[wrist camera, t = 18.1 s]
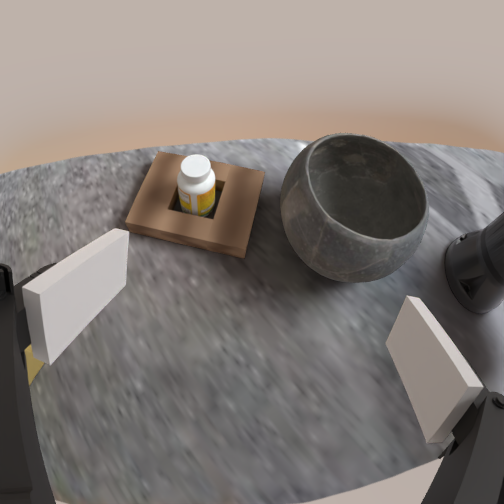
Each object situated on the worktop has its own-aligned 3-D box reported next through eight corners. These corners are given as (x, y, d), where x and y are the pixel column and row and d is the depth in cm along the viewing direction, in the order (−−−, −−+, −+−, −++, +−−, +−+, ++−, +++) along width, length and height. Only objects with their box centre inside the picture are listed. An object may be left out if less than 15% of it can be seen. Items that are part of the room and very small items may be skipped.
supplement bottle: (178, 218, 49) (171, 179, 40) (183, 189, 51) (178, 149, 42) (213, 221, 49) (212, 182, 41) (217, 192, 51) (217, 151, 43)
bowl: (382, 193, 55) (419, 138, 42) (397, 303, 47) (454, 265, 33) (272, 178, 54) (288, 111, 41) (268, 295, 45) (290, 249, 32)
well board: (262, 183, 53) (265, 172, 51) (244, 258, 47) (245, 249, 45) (160, 162, 54) (158, 151, 51) (129, 231, 47) (125, 221, 45)
